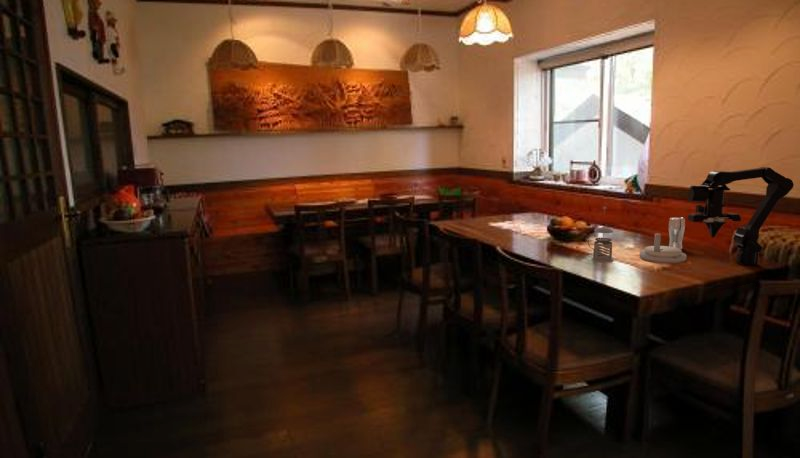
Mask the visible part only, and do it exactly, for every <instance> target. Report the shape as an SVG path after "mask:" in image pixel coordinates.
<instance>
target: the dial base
mask: <svg viewBox="0 0 800 458" xmlns="http://www.w3.org/2000/svg"><path fill="white" fill-rule="evenodd" d="M644 252H645V249H642V250H640V251H639V256H640V257H639V258H640V259H641V258H642V259H641V260H643V259H644V260H643V261H646V262H651V261H652V262H653V263H659V264H660V263H661V264H678V263H679V264H680V263H684V262H686V261H687V254H686V253H684V252H682V253H681V256H679V257H656V256H650V255H647V254H645V253H644Z"/></svg>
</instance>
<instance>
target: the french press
mask: <svg viewBox="0 0 800 458" xmlns="http://www.w3.org/2000/svg"><path fill="white" fill-rule="evenodd" d="M607 208H608V207H607V206H602V209H601V210H603V214H605V212H606V210H607ZM594 232H595V233H591V234H590V235H588V237H587V245H588V247H589V248H590V249H591V250H593V253H592V254H593V255H592V258H591V261H593V262H597V263H612V262H614V261H615V260H614V259H613V257H612V255H613V242H612V238H609V237H604V236H605V235H604V234H612V233H613V232H614V230H613V229H612V228H610V227H605V226H601V227H597V228H595V229H594ZM596 233H599V234H602V237H596ZM592 236H594V237H596V238H595V239H594V240H595V241H594V242H593V243H594V244H593V247H591V245H590V243H589V242H590V238H591V237H592Z"/></svg>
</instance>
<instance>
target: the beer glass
mask: <svg viewBox="0 0 800 458" xmlns="http://www.w3.org/2000/svg"><path fill="white" fill-rule="evenodd" d="M668 220H669V221H668V234H669V244H668V246H669V247H675V248H679V249H681V250H682V249H683V244H682V243H683V237H684V235H685V234H684V233H685V228H686V218H685V217H678V216H677V217H676V216H675V217H674V216H673V217H669V219H668Z"/></svg>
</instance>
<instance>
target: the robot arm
mask: <svg viewBox="0 0 800 458" xmlns="http://www.w3.org/2000/svg"><path fill="white" fill-rule="evenodd" d="M759 178H761V179H762V180H763V181H764V182H765V184H767V186H766V188H765V191H766V192H765V196H764V198H763V199H762V201H761V202H760V204H759V205H758V207H757V209H756V210H755V212H754V213H753V215H752V216H751V217H750V220H749V221H748V222H747V223H746V225H744V226H743V227H742V226H738V228H737V230H736V231H735V233H733V241H734V242H733V243H734V244H736V246H737V248H738V252H737V257H736V261H735V263H737V264H740V265H742V266H746V267H748V266H750V267H751V266H760V263H758V262H759V254H760V253H761V252H762V250H763V246H762V245H760V243H759V242H758V240H759V237H760V230H761V228H762V227H763V225H764V223H765V222H766V220H767V219H768V217H769V216H770V214H771V213H772V211H773V210H774V208H775V207H776V206H777V204H778V202H779V201H780V200H781V199H783V198H784V197H786V195H788V194H789V193H790V192H791V191H792V189H794V186H795V185H794V181H793V179H791V178H788V177H785V176H784V175H782V174H781V173H779V172H777V171H775V170H774V169H772V168H771V167H770V166H769V167H766V166H761V167H758V168H757V167H756V168H749V169H748V168H747V169H741V170H735V171H725V170H723V171H722V170H721V171H719V170H713V171H709V173H708V175H707V176H706V179H705V180H704V181H703V182H702V183H701V184H700V185H690V186H689V187H690V188H689V189H688V190H687V191H688V192H687V193H686V194H687V195H686V197H687V200H688V202H691V203H692V202H695V203H696V202H705V205H704V206H703V205H702V204H697V205H695V213H689V214H688V216H687V220H688V221H691V222H694V223H705V225H706V226H707V229H708V232H709V235H710V238H715V237H716V235H717V234H718V232H719V231H720V229H721V228H722V226H723V225H724V224H727V222H726V221H725V220H731V221H732V222H741V221H742V216H741V215H740V214H739V213H736V212H725V213H724V212H723V211H724V210H723V209H724V208H725V206H726V205H725V204H724V200H725V199H724V198H725V197H724V196H725V191H727V192H728V191H731V188H730V187H728V186H727V185H728V184H731V183H733V182H735V181H736V182H737V181H744V180H750V179H751V180H753V179H759Z"/></svg>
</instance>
